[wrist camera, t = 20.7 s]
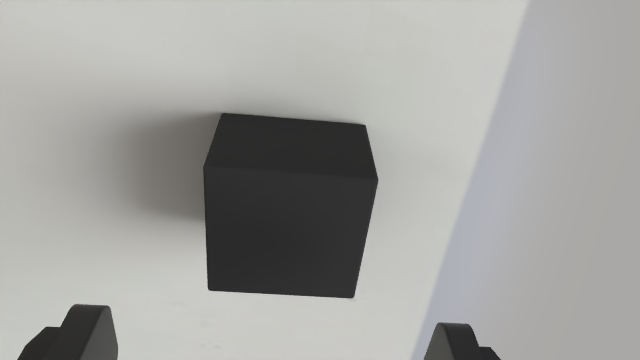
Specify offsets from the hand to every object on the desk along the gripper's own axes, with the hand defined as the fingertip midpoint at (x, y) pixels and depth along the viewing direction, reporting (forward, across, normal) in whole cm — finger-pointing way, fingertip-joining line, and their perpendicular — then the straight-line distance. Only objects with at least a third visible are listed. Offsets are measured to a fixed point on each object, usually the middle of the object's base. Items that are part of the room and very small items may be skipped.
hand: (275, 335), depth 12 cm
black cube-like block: (+7, 0, 0) cm, 7 cm away
